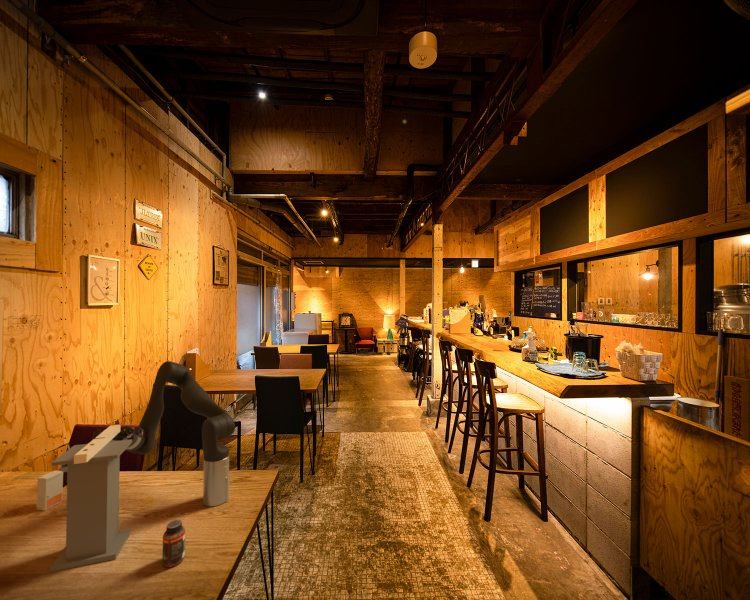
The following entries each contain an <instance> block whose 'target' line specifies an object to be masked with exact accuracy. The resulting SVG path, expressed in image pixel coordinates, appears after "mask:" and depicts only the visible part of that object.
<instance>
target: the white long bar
mask: <svg viewBox="0 0 750 600" xmlns="http://www.w3.org/2000/svg"><path fill="white" fill-rule="evenodd" d="M120 428H121V424H114V425H109V426H108V427H107V428H106V429H104V430H103V432H102V433H101V434H100V435H98V436H97V437H96V438H94V439H92V440H91V441H90V442H88V443H86V444H87V445H86V446H85V447H84V448H82V449H81V450H80V451H79V452H78V453H76V454H75V455H74V464H78V463H87V462H88V461H89V460H90V459H91V458H92V457H93V456H94V455H95V454H96V453H97V452H99V451H100V450H101V449H102V448H103V447H104V446H105V445H106V444H107V443H108V442H111V440H112V439H113V438H114V437H115V436H116V435H117V434H118V433H119V432H120Z"/></svg>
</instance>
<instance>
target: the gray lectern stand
mask: <svg viewBox="0 0 750 600" xmlns="http://www.w3.org/2000/svg"><path fill="white" fill-rule="evenodd" d="M131 443H132V439H130V440H121V441H110V442H108V443H107V444H106V445H105V446H104V447H103V448H102V449H101V450H100V451H99V452H97V453H96V454H95V455H94V456H93V457H92V458H91V459H90V460H89V461H88V462H87V463H78V464H74V455H75V454H76V453H78V452H79V451H80V450H81V449H82V448H84V447H85V446H86V445H87V444H88V443H84V444H75V445H73V446H71V447H69V448H70V449H69V450H68V449H67V450H66V451H65V452H64V453H62V454H61V455H59V457H56V459H54V460H53V461H52V462H51V466H62V465H64V464H67V485H66V522H65V523H66V526H65V527H66V529H65V531H66V532H65V533H66V534H65V547H64V549H63V550H62V552H61V553H60V554H59V555H58V557H57V558H56V559H55V560H54V561H53V563H52V564H51V565H50V566H49V573H53V572H59V571H63V570H68V569H74V568H78V567H84V566H89V565H93V564H99V563H104V562H109V561H114V560H116V559H117V558H118V556H119V554H120V553H121V551H122V549H123V547H124V545H125V544H126V543H127V540H128V538H129V537H130V535H131V532H132V531H131V530H132V529H131V528H127V529H122V530H121V529H120V530H119V523H120V522H119V521H120V519H119V518H120V517H119V516H120V514H119V511H120V466H121V465H120V463H121V462H120V459H121V455H122V454H123V453H124V452H125V451H126V450H125V449H126V448H127V447H128V446H129V445H130V444H131Z"/></svg>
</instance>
